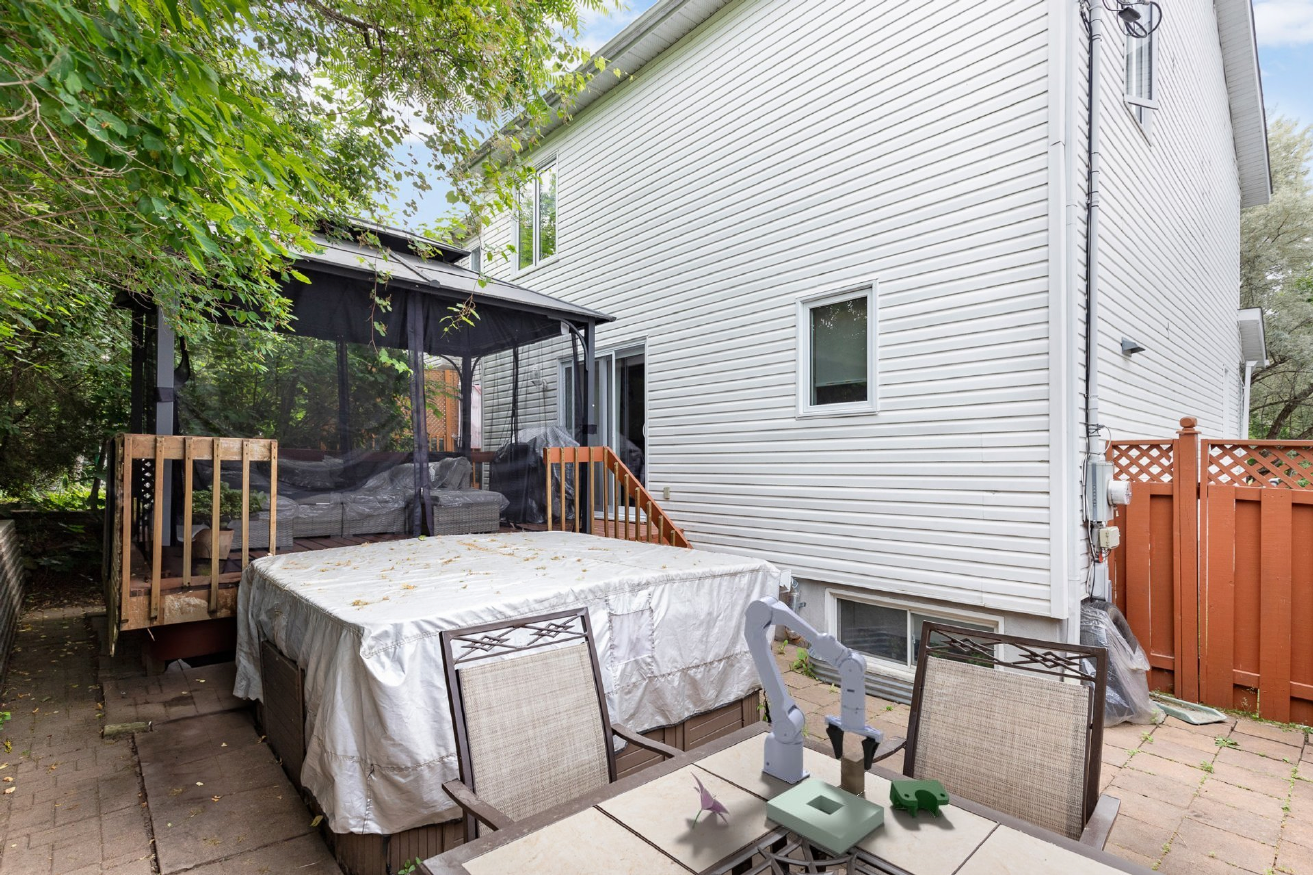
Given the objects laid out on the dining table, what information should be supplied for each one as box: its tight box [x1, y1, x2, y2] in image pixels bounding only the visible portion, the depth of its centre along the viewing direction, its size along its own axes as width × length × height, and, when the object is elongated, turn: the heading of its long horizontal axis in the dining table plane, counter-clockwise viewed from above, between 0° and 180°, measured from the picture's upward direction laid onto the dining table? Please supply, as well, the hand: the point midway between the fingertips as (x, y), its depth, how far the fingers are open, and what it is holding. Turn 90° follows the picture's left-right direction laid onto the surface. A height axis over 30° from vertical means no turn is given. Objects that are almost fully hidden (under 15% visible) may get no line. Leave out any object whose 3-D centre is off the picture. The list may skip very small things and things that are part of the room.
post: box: [840, 751, 866, 796], centre depth 149 cm, size 4×4×8 cm
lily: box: [690, 771, 731, 829], centre depth 133 cm, size 12×12×10 cm
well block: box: [765, 776, 885, 857], centre depth 135 cm, size 18×18×4 cm
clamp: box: [888, 779, 950, 819], centre depth 140 cm, size 12×6×9 cm, turn 90°
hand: (853, 763), depth 149 cm, fingers open, 7 cm apart
